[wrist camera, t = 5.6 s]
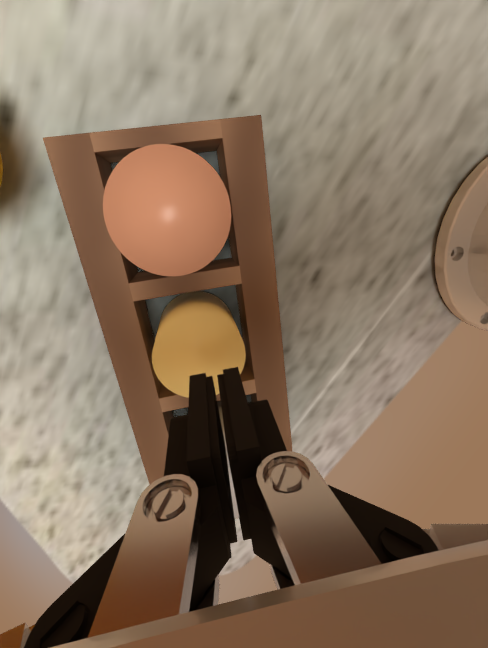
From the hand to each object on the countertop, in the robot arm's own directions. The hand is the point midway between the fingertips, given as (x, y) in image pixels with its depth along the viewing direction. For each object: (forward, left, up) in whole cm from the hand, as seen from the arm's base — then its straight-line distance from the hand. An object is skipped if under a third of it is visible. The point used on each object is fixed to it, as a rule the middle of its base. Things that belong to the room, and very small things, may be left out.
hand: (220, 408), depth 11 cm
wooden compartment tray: (+1, 0, -9) cm, 9 cm away
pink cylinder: (+1, -6, -7) cm, 10 cm away
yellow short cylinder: (+1, 0, -9) cm, 9 cm away
